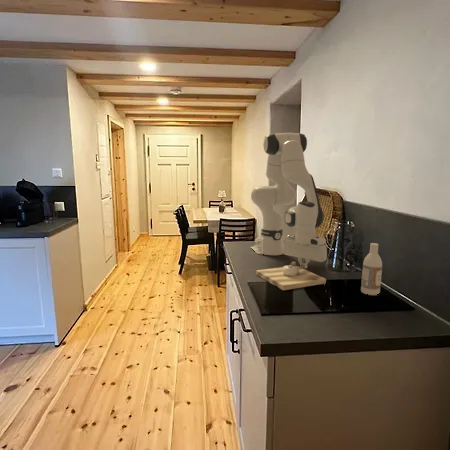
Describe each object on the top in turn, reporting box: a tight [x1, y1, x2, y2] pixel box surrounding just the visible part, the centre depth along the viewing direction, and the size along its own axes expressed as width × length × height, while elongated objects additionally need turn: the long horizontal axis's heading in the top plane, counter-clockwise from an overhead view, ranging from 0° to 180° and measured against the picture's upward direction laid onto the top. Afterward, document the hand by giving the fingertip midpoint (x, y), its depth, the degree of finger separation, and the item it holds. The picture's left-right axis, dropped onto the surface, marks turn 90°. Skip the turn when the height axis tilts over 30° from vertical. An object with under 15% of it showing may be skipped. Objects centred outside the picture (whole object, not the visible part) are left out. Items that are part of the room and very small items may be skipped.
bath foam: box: [360, 242, 383, 296], centre depth 130 cm, size 7×7×20 cm
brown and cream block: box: [282, 261, 297, 276], centre depth 149 cm, size 13×6×4 cm, turn 158°
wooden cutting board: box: [255, 265, 327, 291], centre depth 147 cm, size 22×22×2 cm
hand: (303, 267), depth 150 cm, fingers closed
